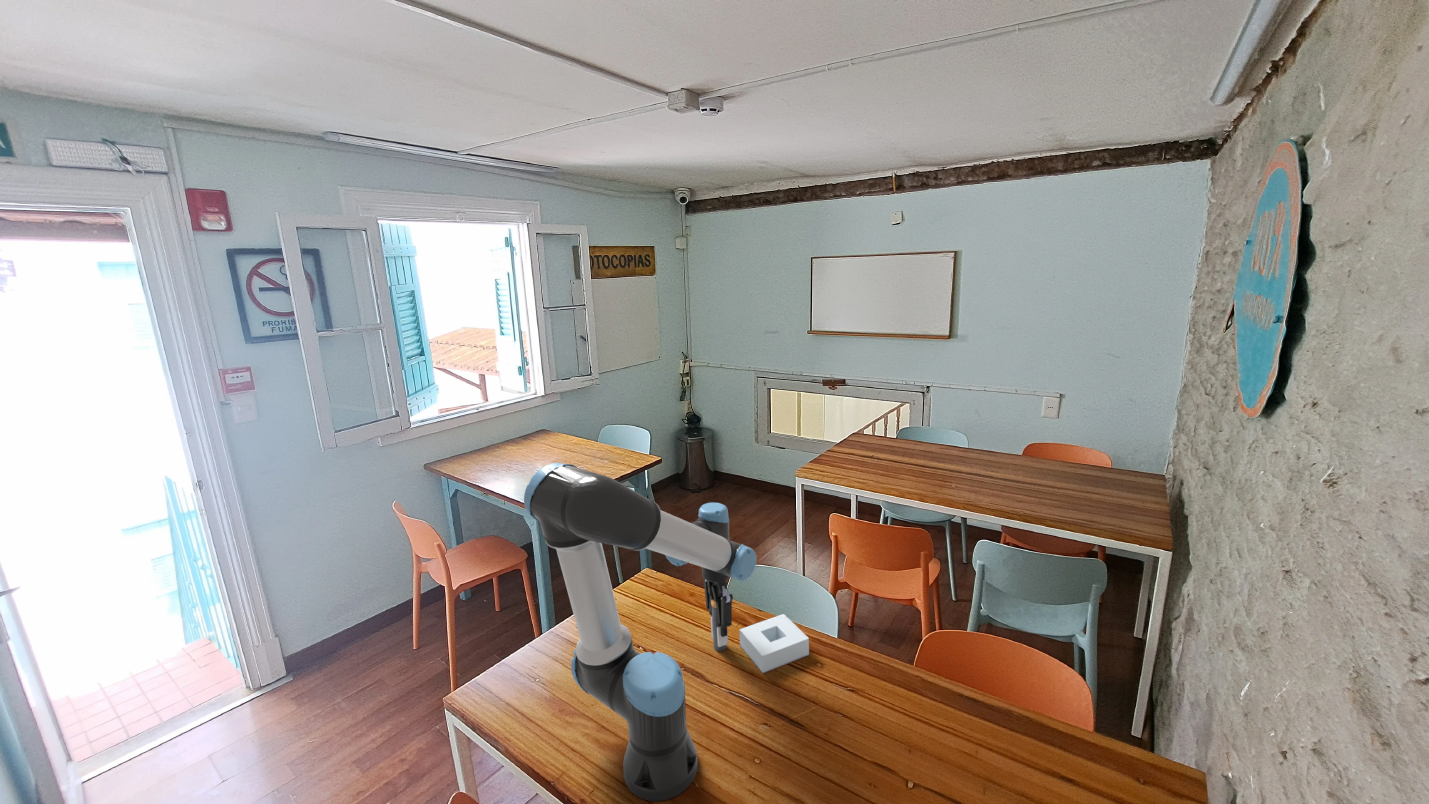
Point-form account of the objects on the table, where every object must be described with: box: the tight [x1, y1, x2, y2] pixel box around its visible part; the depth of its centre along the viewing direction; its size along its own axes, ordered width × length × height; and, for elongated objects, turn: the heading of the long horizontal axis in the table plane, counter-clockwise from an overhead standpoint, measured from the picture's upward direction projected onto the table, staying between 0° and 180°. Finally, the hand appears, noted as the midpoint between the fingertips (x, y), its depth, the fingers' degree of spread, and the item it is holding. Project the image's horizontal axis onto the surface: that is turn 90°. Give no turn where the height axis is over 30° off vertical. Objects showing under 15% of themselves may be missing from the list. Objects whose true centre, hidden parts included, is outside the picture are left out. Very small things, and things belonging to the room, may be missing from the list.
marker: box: [711, 599, 727, 652], centre depth 146 cm, size 4×4×14 cm
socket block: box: [739, 613, 810, 674], centre depth 145 cm, size 12×14×5 cm
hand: (719, 640), depth 147 cm, fingers closed on marker, 3 cm apart
